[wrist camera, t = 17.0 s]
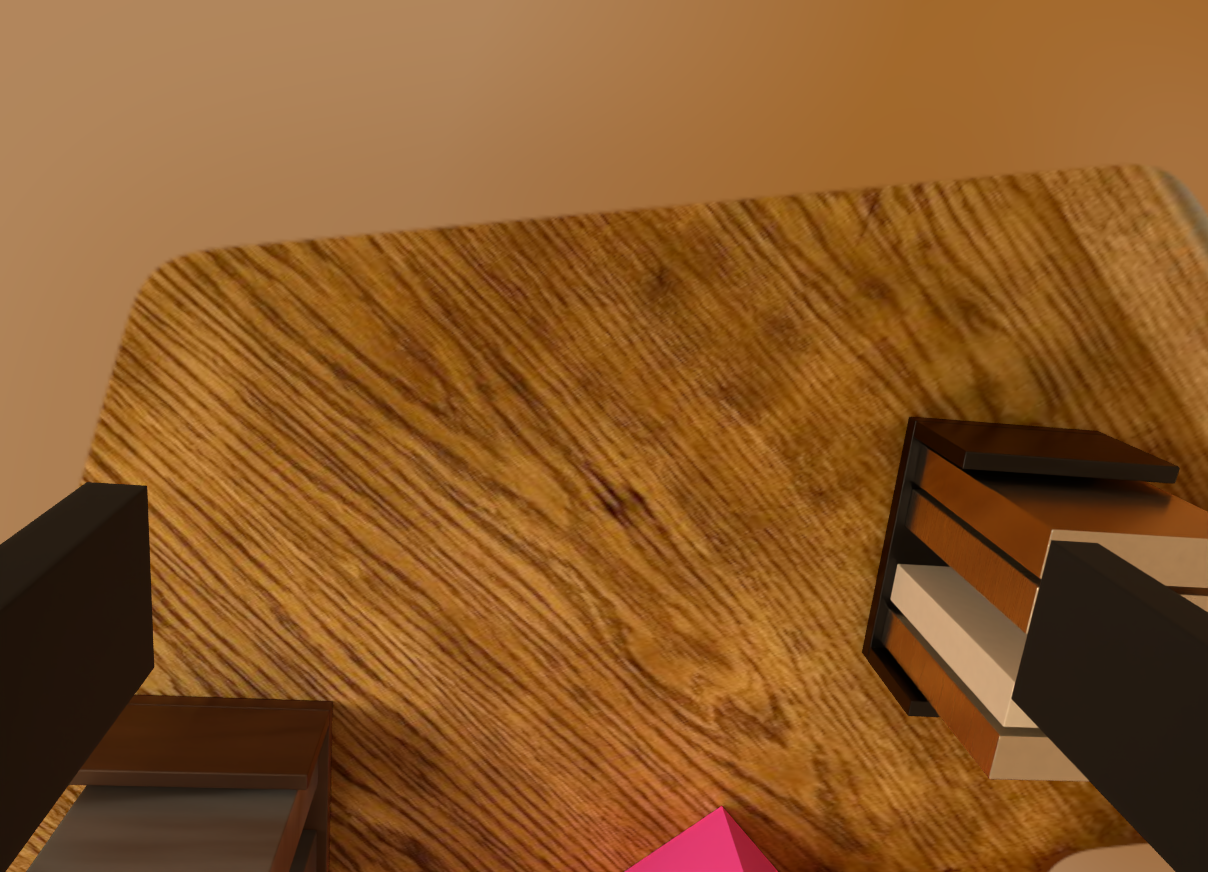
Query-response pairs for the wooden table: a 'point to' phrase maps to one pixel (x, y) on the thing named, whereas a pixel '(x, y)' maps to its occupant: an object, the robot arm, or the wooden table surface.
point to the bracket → (708, 849)
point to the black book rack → (1017, 554)
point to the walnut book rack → (202, 790)
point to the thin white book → (965, 634)
